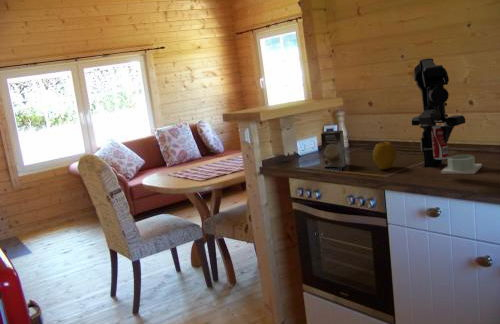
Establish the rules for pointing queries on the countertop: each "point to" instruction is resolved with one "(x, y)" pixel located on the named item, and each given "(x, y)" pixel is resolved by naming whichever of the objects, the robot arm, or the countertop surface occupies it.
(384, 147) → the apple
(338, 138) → the coffee box
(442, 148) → the soda can
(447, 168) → the can holder
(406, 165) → the countertop surface
